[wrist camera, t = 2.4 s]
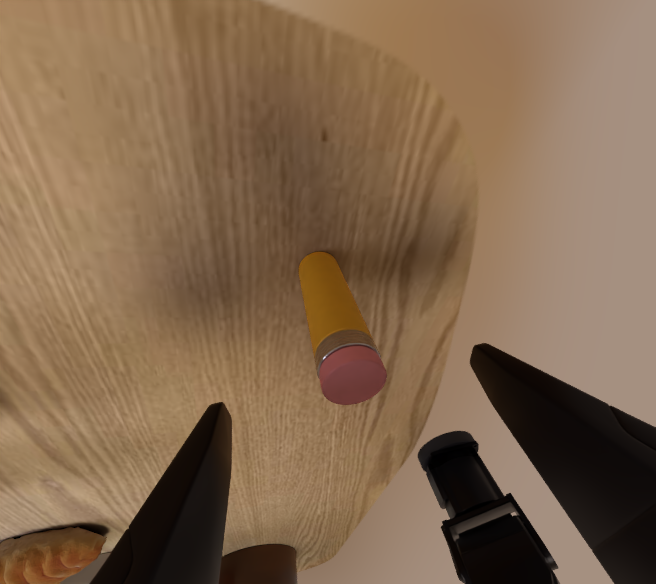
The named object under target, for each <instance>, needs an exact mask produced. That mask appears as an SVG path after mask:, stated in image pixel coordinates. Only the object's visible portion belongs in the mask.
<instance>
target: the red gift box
mask: <svg viewBox="0 0 656 584" xmlns="http://www.w3.org/2000/svg"><path fill="white" fill-rule="evenodd" d="M110 553H111V552H110ZM110 553H104V554H99V556H98V558H97V559H96V560H94V561H93V562H91V563H90V564H89V565H88V566H86V567H85V568H83V569H82V570H81V571H80V572H78V573H76V574H74V575H71V576H69V577H67V578H66V579H65V580H63V581H62V582H61V583H60V584H89V583H90V582H91V580H92V579H93V578H94V576H95V575H96V574H97V572H98V571H99V569H100V568H101V566H102V565H103V563H104V562H105V561H106V559H107V558H108V556H109V555H110Z"/></svg>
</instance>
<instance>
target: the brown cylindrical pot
mask: <svg viewBox="0 0 656 584" xmlns="http://www.w3.org/2000/svg"><path fill="white" fill-rule="evenodd" d="M219 584H297V568H296V552H295V550H294V548H292V547H290V546H286V545H278V544H272V545H261V546H255V547H250V548H246V549H242V550H239V551H236V552H233V553H231V554H228V555H226V556H224V557H223V558H221V567H220V576H219Z"/></svg>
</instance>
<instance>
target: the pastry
mask: <svg viewBox="0 0 656 584" xmlns="http://www.w3.org/2000/svg"><path fill="white" fill-rule="evenodd" d="M106 538H107V537H103V536H101V535H99V534H96V533H93V532H90V531H88V530H85V529H80V528H79V526H78V527H77V528H73V527H67V528H66V529H63V530H49V531H47V532H41V533H33V534H29V535H24V536H22V537H20V538H19V539H15V540H14V538H12V539H8V540H5V541H3V542H1V543H0V584H60V583H61V582H62V581H63V580H65V579H66V578H67V577H69V576H71V575H74V574H76V573H78V572H80V571H81V570H82V569H83V568H85V567H86V566H88V565H89V564H90V563H91V562H93V561H94V560H96V559H97V558H98V556H99V554H100V553H101V550H102V546H103V544H104V543H105V541H106Z"/></svg>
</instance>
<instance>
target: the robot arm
mask: <svg viewBox="0 0 656 584" xmlns="http://www.w3.org/2000/svg"><path fill="white" fill-rule="evenodd" d="M470 365H471V367H472V369H473V371H474V373H475V374H476V376H477V378H478V380H479V382H480V384H481V385H482V387H483V389H484V391H485V393H486V394H487V396H488V398H489V400H490V402H491V403H492V405H493V407H494V408H495V410H496V411H497V412H498V414H499V416H500V417H501V419H502V420H503V421H504V423H505V424H506V426H507V427H508V429H509V430H510V431H511V433H512V435H513V436H514V437H515V439H516V440H517V442H518V443H519V445H520V446H521V448H522V449H523V450H524V452H525V453H526V455H527V456H528V458H529V459H530V461H531V462H532V464H533V465H534V467H535V468H536V469H537V471H538V472H539V474H540V475H541V477H542V478H543V480H544V481H545V483H546V484H547V485H548V487H549V489H550V490H551V491H552V493H553V494H554V496H555V497H556V499H557V500H558V502H559V503H560V505H561V506H562V507H563V509H564V510H565V512H566V513H567V515H568V516H569V518H570V519H571V521H572V522H573V523H574V525H575V526H576V528H577V529H578V531H579V532H580V534H581V535H582V537H583V538H584V540H585V541H586V543H587V544H588V545H589V547H590V548H591V549H592V551H593V553H594V555H595V556H596V557H597V559H598V560H599V562H600V563H601V565H602V566H603V568H604V569H605V571H606V572H607V574H608V575H609V576H610V578H611V579H612V581H613V582H614V584H656V427H654V426H652V425H650V424H647V423H645V422H643V421H641V420H639V419H637V418H635V417H633V416H631V415H629V414H627V413H625V412H623V411H621V410H619V409H617V408H615V407H612V406H609V405H608V404H607V403H605V402H603V401H601V400H599V399H597V398H595V397H593V396H591V395H589V394H587V393H585V392H583V391H581V390H579V389H577V388H575V387H573V386H571V385H569V384H567V383H565V382H563V381H561V380H559V379H557V378H555V377H553V376H551V375H549V374H547V373H545V372H543V371H541V370H539V369H537V368H535V367H533V366H531V365H529V364H527V363H525V362H523V361H521V360H519V359H517V358H515V357H513V356H511V355H509V354H507V353H505V352H503V351H501V350H499V349H497V348H495V347H493V346H491V345H489V344H486V343H482V344H478V345H475V346H474V347H473V350H472V354H471V358H470ZM478 446H479V444H478V443H477V442H476V441H472V442H468V443H465V444H461V445H457V446H453V447H449V448H445V449H441V450H437V451H434V452H431V453H430V456H429V461H428V466H427V471H426V475H427V478H428V480H429V482H430V484H431V487H432V489H433V491H434V494H435V496H436V498H437V500H438V502H439V505H440V507H441V508H442V509H445V508H446V510H447V512H448V515H449V517H450V519H449V520H445V521H442V523H443V525H442V526H441V529H442V531H443V534H444V536H445V538H446V541H447V544H448V546H449V549H450V553H451V556H452V559H453V563H454V566H455V569H456V572H457V575H458V578H459V580H460V581H462V582H463V583H465V584H560V583H559V581H558V579H557V577H556V576H555V574H554V572H553V571H552V570H555V569H558V566H557V564H556V562H555V561H554V559H553V558H552V556H551V554H550V553H549V551H548V549H547V548H546V546H545V544H544V543H543V541H542V540H541V538H540V537H539V535H538V534H537V532H536V531H535V529H534V528H533V526H532V525H531V523H530V522H529V520H528V519H527V517H526V516H525V514H524V513H523V511H522V510H521V508H520V507H519V505H518V504H517V502H516V501H515V499H514V498H513V496H512V494H511V493H509V494H506V496H504V495H503V493H502V492H501V490H500V488H499V487H498V486H497V484H496V482H495V480H494V479H493V477H492V476H491V474H490V472H489V471H488V469H487V468H486V466H485V464H484V463H483V461H482V460H481V458H480V456H479V455H478V453H477V448H478ZM231 464H232V419H231V415H230V413H229V412H228V410H227V408H226V406H225V404H224V403H223V402H219V403H214V404H211V405H210V406H209V407H208V408H207V410H206V411H205V413H204V414H203V416H202V417H201V419H200V420H199V422H198V423H197V425H196V426H195V428H194V429H193V431H192V432H191V434H190V435H189V437H188V438H187V440H186V441H185V443H184V444H183V446H182V447H181V449H180V450H179V452H178V453H177V455H176V456H175V458H174V459H173V461H172V462H171V464H170V465H169V467H168V468H167V470H166V471H165V473H164V474H163V476H162V477H161V479H160V480H159V482H158V483H157V485H156V486H155V488H154V489H153V491H152V492H151V494H150V495H149V497H148V498H147V500H146V501H145V503H144V504H143V506H142V507H141V509H140V510H139V512H138V513H137V515H136V516H135V518H134V519H133V521H132V522H131V524H130V525H129V529H127V530H126V531H125V533H124V534H123V536H122V537H121V539H120V540H119V542H118V543H117V545H116V546H115V548H114V549H113V550H112V552H111V553H110V555H109V556H108V558H107V559H106V561H105V562H104V563H103V565H102V566H101V568H100V569H99V571H98V572H97V574H96V575H95V576H94V578H93V579H92V580H91V582H90V583H89V584H219V576H220V567H221V558H222V549H223V541H224V532H225V523H226V514H227V505H228V497H229V488H230V479H231ZM512 512H516V514H517V515H516V516H512V515H511V514H510V513H512Z"/></svg>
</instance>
